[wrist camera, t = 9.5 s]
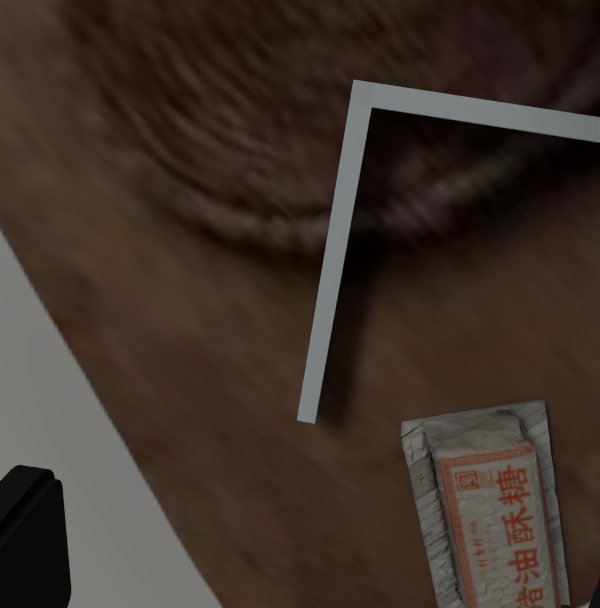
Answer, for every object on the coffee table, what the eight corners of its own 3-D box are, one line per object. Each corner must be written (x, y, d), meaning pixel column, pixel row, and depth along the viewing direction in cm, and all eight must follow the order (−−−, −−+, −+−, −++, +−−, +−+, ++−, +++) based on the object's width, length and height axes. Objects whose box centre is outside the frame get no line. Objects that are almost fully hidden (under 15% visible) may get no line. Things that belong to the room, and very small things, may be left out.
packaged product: (401, 456, 35) (564, 432, 33) (396, 417, 40) (540, 393, 38) (447, 662, 41) (590, 649, 39) (438, 606, 45) (565, 593, 43)
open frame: (354, 82, 32) (353, 79, 29) (800, 150, 31) (844, 154, 28) (301, 398, 39) (296, 420, 37) (661, 463, 38) (685, 491, 35)
